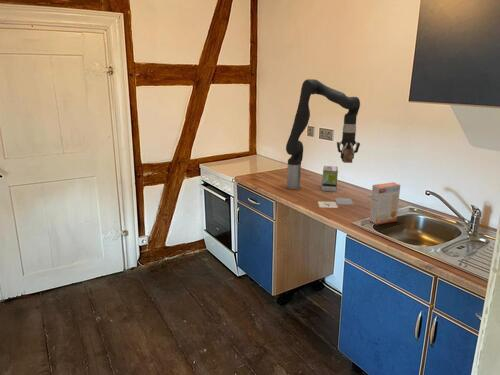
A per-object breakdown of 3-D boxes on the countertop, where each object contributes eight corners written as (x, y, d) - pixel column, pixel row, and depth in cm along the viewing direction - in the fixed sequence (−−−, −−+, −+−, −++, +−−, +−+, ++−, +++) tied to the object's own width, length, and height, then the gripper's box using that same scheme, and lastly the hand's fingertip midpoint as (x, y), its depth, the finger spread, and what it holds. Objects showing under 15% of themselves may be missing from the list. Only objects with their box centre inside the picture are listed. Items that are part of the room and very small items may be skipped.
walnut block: (343, 162, 226) (344, 149, 223) (341, 160, 232) (342, 147, 230) (352, 162, 225) (353, 149, 223) (349, 160, 232) (350, 147, 230)
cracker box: (389, 217, 210) (393, 181, 204) (396, 221, 204) (401, 184, 198) (368, 221, 205) (372, 184, 199) (375, 225, 199) (379, 187, 193)
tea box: (336, 191, 257) (338, 170, 253) (321, 191, 259) (322, 170, 255) (336, 185, 271) (337, 165, 267) (322, 185, 273) (323, 165, 269)
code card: (319, 207, 226) (319, 207, 226) (317, 201, 236) (317, 201, 236) (338, 207, 225) (338, 207, 225) (335, 202, 236) (335, 201, 236)
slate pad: (337, 204, 231) (337, 204, 231) (334, 198, 242) (334, 198, 242) (354, 205, 230) (354, 204, 230) (350, 198, 242) (350, 198, 242)
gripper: (338, 132, 221) (336, 160, 225) (362, 132, 220) (360, 160, 225) (336, 130, 228) (334, 157, 233) (360, 130, 227) (357, 158, 232)
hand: (347, 159), depth 229 cm, fingers closed on walnut block, 5 cm apart
